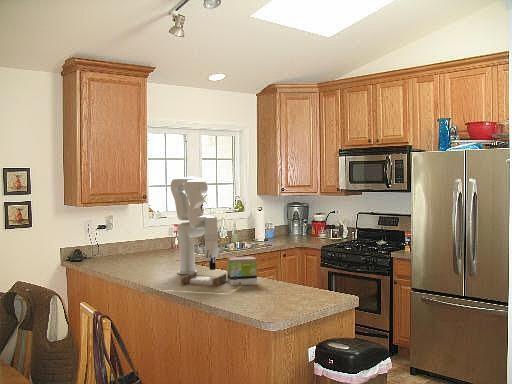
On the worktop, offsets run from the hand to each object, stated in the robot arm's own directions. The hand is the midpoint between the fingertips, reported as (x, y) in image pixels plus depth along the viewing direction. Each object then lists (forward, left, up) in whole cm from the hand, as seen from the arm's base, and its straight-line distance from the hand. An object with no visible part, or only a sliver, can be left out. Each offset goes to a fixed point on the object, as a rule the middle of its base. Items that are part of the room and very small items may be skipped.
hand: (212, 269), depth 315 cm
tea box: (+4, +19, -7) cm, 21 cm away
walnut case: (+10, -1, -7) cm, 12 cm away
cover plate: (+10, -1, -6) cm, 12 cm away
